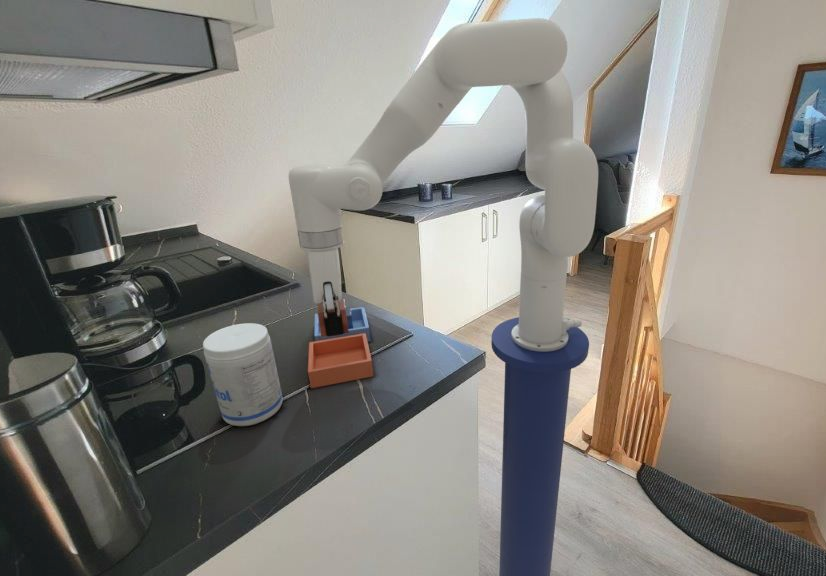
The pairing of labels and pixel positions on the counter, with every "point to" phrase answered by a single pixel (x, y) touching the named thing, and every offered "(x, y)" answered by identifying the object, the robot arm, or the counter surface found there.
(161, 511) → the counter surface
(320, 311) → the terracotta block
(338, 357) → the terracotta bin
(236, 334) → the supplement tub
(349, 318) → the blue block
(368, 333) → the blue bin
